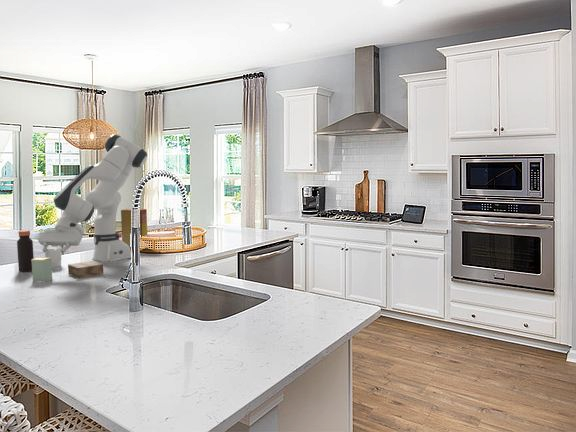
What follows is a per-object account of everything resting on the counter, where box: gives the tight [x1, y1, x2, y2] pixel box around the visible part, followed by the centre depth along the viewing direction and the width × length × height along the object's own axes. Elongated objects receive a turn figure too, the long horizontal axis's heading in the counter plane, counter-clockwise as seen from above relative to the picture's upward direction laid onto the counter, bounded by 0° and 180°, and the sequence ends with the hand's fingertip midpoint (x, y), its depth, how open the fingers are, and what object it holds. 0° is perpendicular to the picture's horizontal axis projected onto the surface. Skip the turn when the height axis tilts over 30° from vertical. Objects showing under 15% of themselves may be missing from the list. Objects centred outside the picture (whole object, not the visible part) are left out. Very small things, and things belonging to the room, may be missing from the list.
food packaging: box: [120, 208, 148, 251], centre depth 294 cm, size 13×9×25 cm
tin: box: [31, 256, 53, 283], centre depth 214 cm, size 6×6×10 cm
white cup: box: [44, 245, 62, 269], centre depth 243 cm, size 8×8×10 cm
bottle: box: [16, 229, 35, 273], centre depth 233 cm, size 7×7×20 cm
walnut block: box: [67, 260, 105, 279], centre depth 226 cm, size 12×12×5 cm
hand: (53, 251), depth 220 cm, fingers open, 8 cm apart
